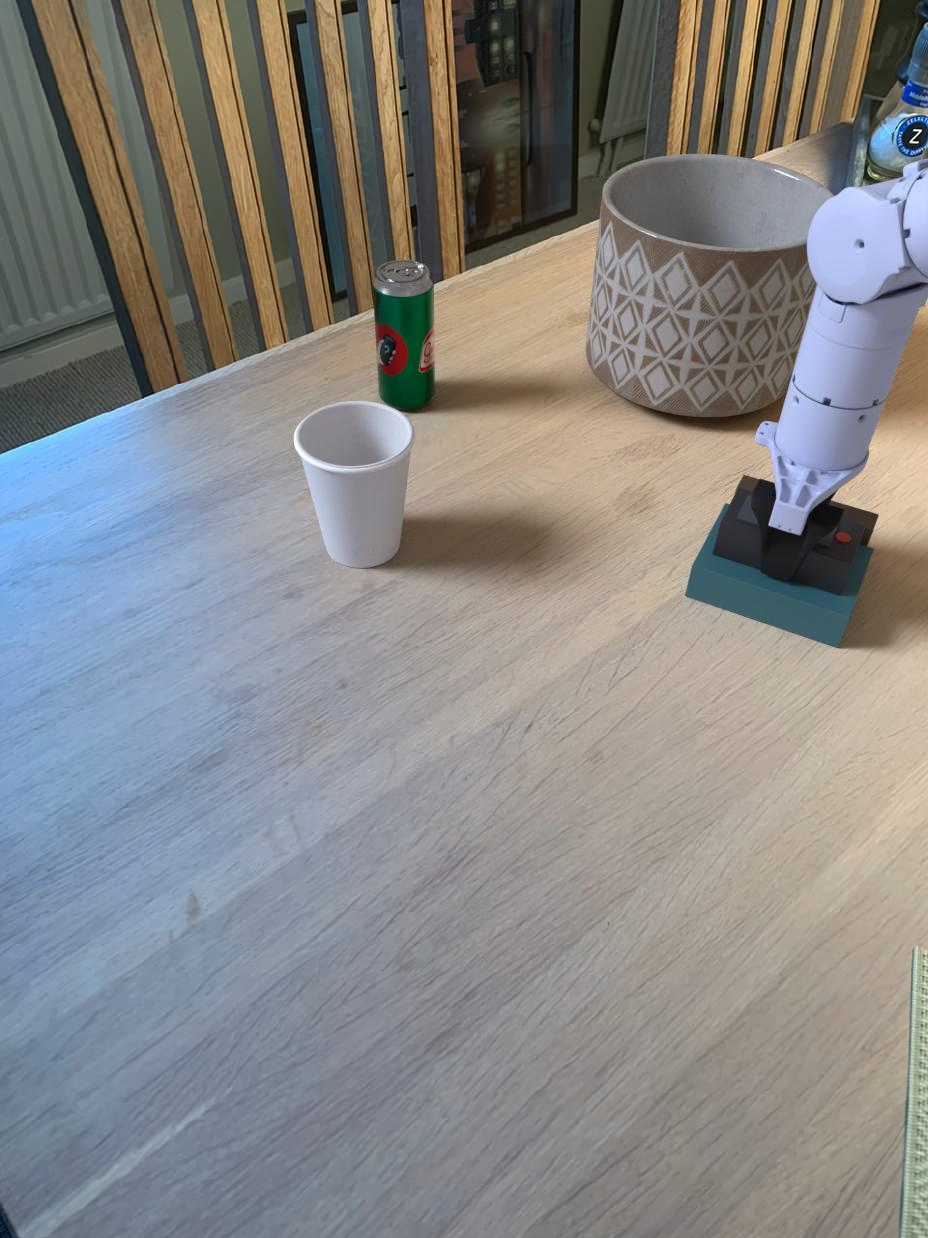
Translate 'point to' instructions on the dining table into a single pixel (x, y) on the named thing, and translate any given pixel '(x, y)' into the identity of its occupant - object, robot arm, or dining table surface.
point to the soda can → (404, 334)
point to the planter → (702, 282)
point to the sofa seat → (781, 585)
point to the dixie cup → (357, 477)
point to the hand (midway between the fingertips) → (785, 552)
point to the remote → (821, 564)
